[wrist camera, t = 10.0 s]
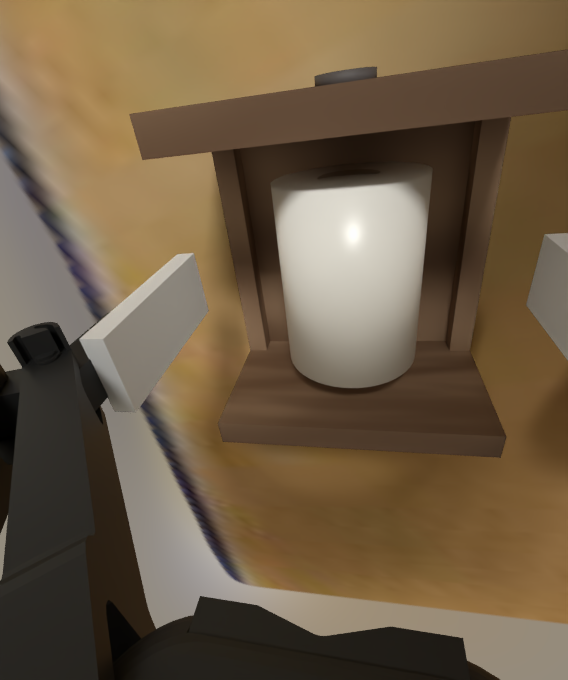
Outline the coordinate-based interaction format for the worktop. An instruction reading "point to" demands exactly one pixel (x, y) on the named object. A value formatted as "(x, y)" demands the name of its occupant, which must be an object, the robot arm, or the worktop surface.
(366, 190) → the roll
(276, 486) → the worktop surface
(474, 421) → the holder
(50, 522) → the robot arm
